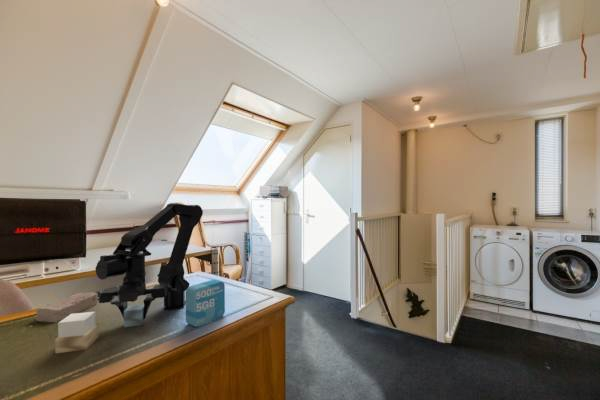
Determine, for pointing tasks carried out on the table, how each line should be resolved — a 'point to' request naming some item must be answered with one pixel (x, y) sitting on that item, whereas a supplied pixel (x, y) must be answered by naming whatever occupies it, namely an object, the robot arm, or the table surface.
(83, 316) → the white slab
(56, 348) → the oak slab
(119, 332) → the table surface
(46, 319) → the brick
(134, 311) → the blue cube
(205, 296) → the data package
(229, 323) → the table surface
